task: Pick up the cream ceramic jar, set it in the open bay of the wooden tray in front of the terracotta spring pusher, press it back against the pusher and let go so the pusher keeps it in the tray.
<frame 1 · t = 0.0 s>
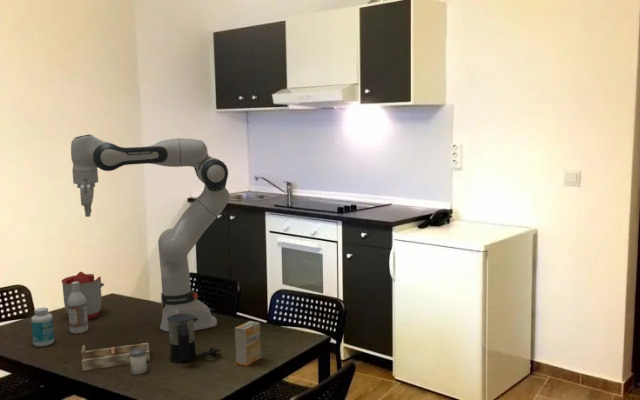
hand: (88, 214, 234), 48 cm above the table, tool pointing down, fingers open, 8 cm apart
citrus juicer: (86, 316, 267), on the table
supplement box: (249, 362, 212), on the table
wooden tray: (116, 361, 216), on the table
bath foam: (79, 331, 248), on the table
milk frother: (194, 358, 217), on the table
pill bottle: (44, 344, 235), on the table
spring pusher: (113, 354, 215), point 3 cm above the table, slide at 0.0 cm
cream jar: (139, 371, 207), on the table
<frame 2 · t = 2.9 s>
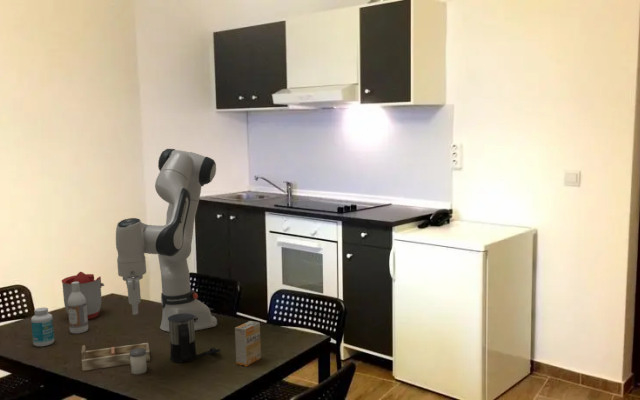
hand: (134, 309, 204), 21 cm above the table, tool pointing down, fingers open, 8 cm apart
nothing on the table moved.
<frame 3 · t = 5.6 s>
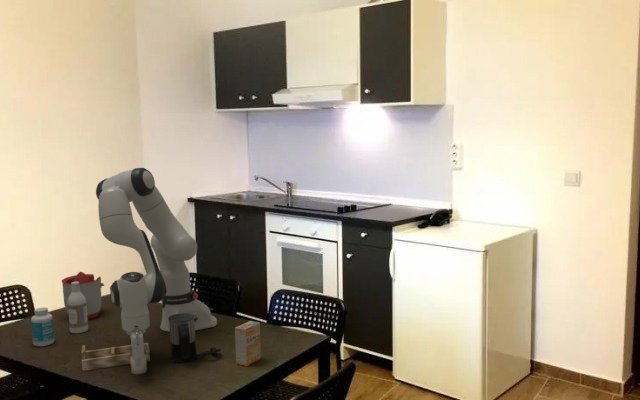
hand: (138, 362, 206), 3 cm above the table, tool pointing down, fingers closed on cream jar, 5 cm apart
cream jar: (139, 371, 207), on the table, touching gripper
everything else where it was.
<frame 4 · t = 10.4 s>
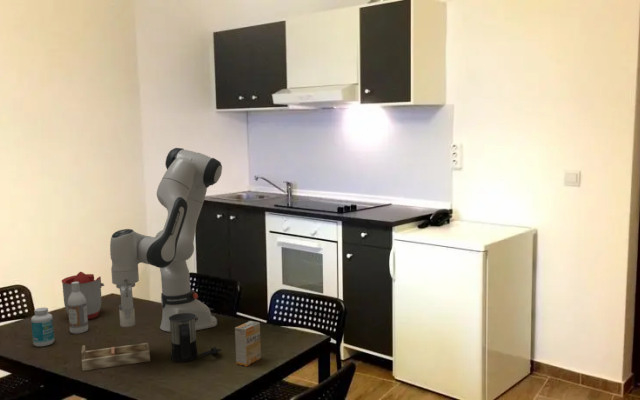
hand: (127, 315, 215), 16 cm above the table, tool pointing down, fingers closed on cream jar, 5 cm apart
cream jar: (127, 324, 215), point 13 cm above the table, touching gripper
everything else where it was.
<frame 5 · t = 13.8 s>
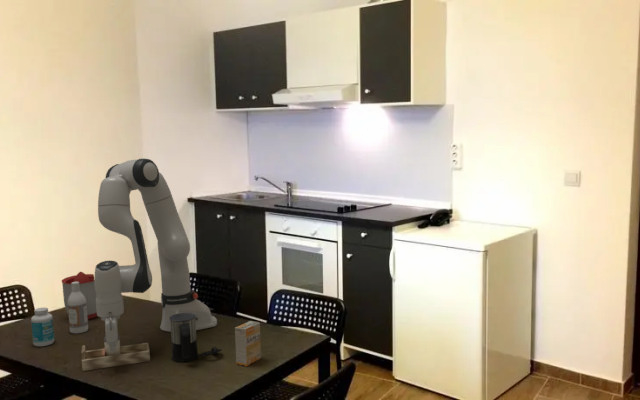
hand: (112, 347, 215), 5 cm above the table, tool pointing down, fingers closed on cream jar, 5 cm apart
spring pusher: (103, 355, 214), point 3 cm above the table, slide at 3.1 cm, touching cream jar
cream jar: (113, 356, 215), point 2 cm above the table, touching gripper, spring pusher
everything else where it was.
when the fingers open (5 cm above the table, at t = 14.8 s): cream jar moves 3 cm, resting on wooden tray.
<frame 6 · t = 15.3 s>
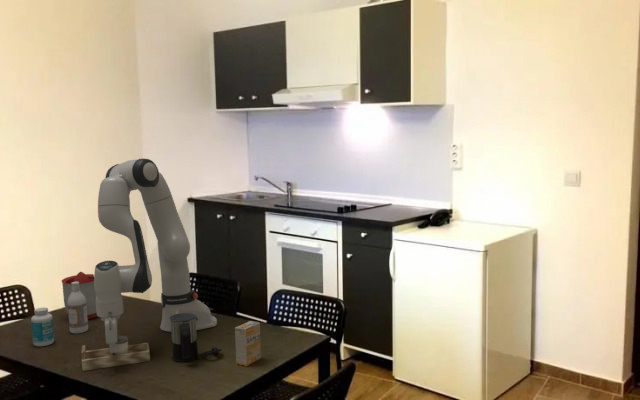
hand: (112, 347, 215), 5 cm above the table, tool pointing down, fingers open, 8 cm apart
spring pusher: (111, 354, 215), point 3 cm above the table, slide at 0.6 cm
cream jar: (121, 357, 216), point 1 cm above the table, touching wooden tray
everything else where it was.
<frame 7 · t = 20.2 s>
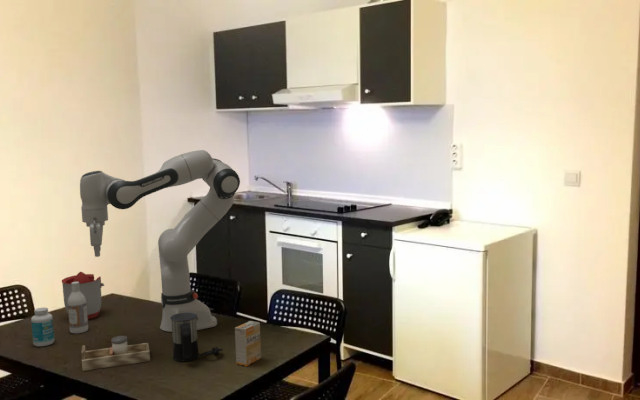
hand: (97, 253, 226), 35 cm above the table, tool pointing down, fingers open, 8 cm apart
at the end: cream jar inside the target area on the wooden tray (1.3 cm from its centre), point 1.1 cm above the wooden tray's base; cream jar tilted 1°; the gripper is holding nothing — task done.
